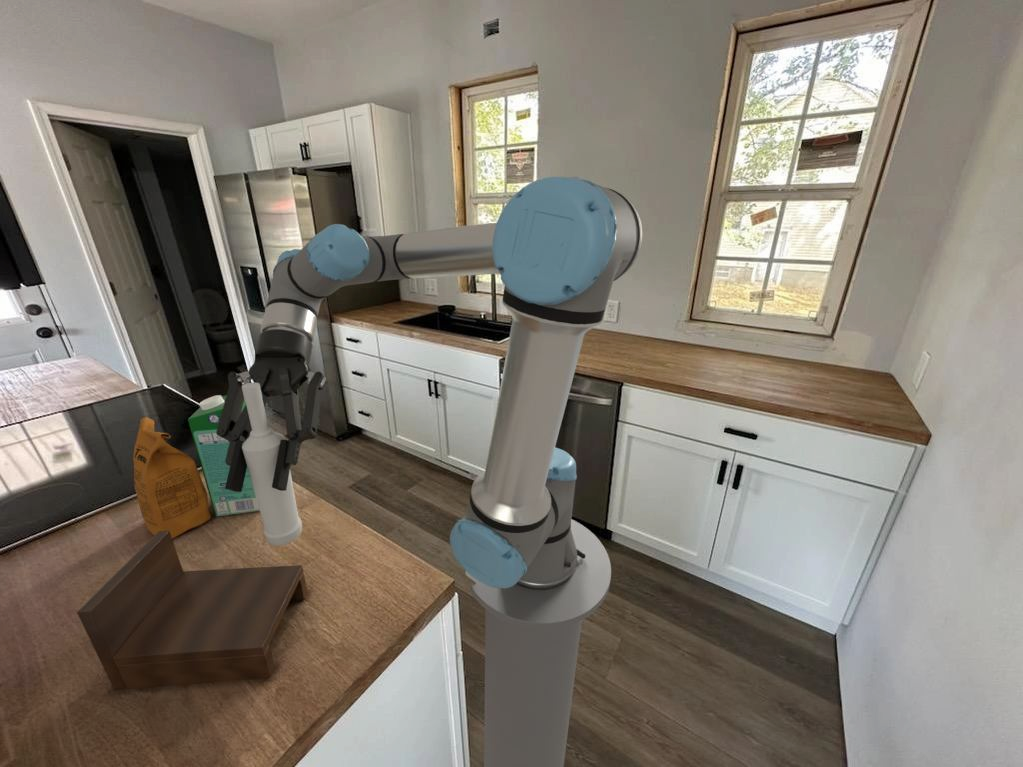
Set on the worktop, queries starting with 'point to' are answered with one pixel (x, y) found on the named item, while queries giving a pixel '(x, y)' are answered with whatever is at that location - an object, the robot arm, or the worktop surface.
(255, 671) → the shelf
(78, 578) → the worktop surface
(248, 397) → the bottle
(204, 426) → the milk carton
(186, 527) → the coffee package
